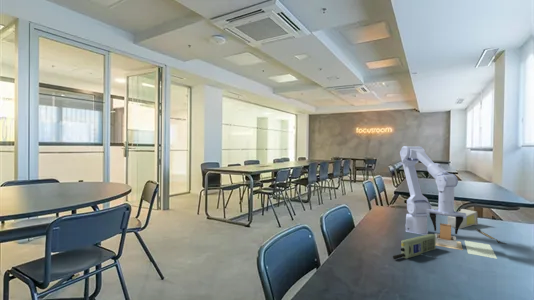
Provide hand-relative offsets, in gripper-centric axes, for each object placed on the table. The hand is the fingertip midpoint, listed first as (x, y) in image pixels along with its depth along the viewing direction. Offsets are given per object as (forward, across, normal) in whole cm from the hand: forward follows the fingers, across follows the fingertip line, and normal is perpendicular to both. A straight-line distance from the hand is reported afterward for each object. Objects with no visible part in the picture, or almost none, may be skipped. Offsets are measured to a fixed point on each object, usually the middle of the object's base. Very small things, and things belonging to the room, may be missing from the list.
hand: (445, 232), depth 119 cm
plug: (+5, 0, 0) cm, 5 cm away
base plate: (+6, 0, 0) cm, 6 cm away
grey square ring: (+6, 0, 0) cm, 6 cm away
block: (+6, +8, +42) cm, 43 cm away
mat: (+6, +12, 0) cm, 13 cm away
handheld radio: (+6, -11, -21) cm, 24 cm away
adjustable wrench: (+6, +19, +26) cm, 33 cm away
